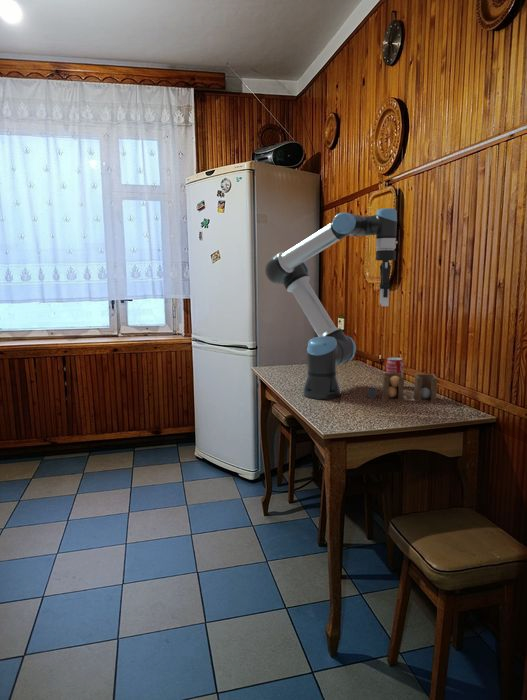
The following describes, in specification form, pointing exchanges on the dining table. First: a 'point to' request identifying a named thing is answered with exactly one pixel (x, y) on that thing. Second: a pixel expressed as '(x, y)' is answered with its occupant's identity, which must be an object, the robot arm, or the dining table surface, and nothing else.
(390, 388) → the brown ball in tube
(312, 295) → the robot arm
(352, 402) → the dining table surface
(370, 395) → the rubber stand
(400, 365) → the soda can
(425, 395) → the grey ball
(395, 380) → the brown ball
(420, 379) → the rack
